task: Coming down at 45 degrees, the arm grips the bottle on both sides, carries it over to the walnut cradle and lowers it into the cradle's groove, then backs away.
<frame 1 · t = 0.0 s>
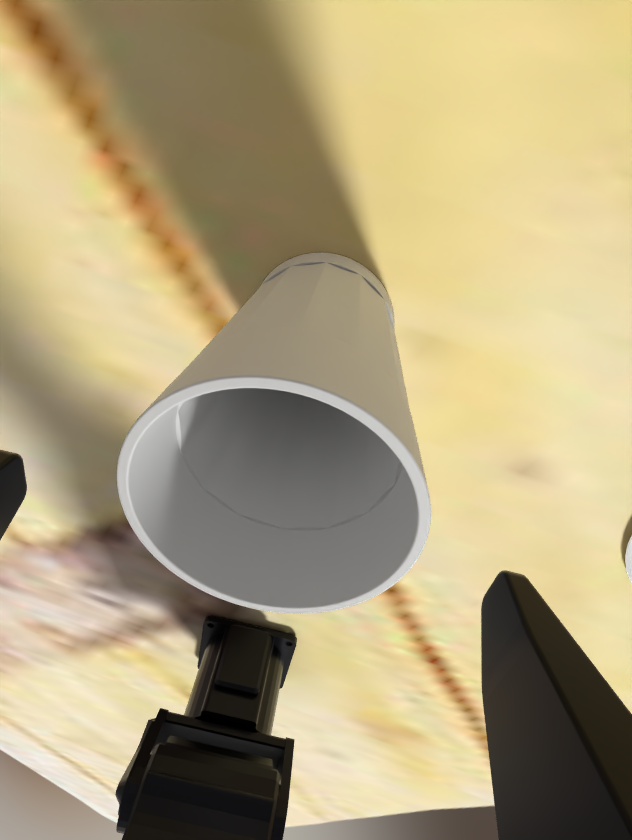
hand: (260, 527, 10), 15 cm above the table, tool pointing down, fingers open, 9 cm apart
cup: (322, 322, 23), on the table
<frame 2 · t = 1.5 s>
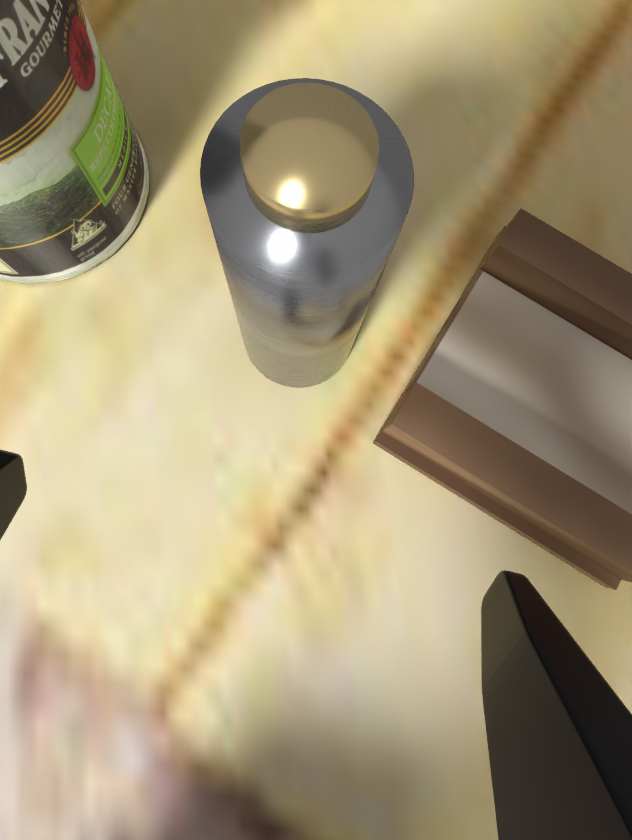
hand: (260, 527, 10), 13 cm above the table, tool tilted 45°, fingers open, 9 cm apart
coffee can: (41, 184, 25), on the table
cradle: (549, 402, 24), on the table
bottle: (298, 334, 24), on the table
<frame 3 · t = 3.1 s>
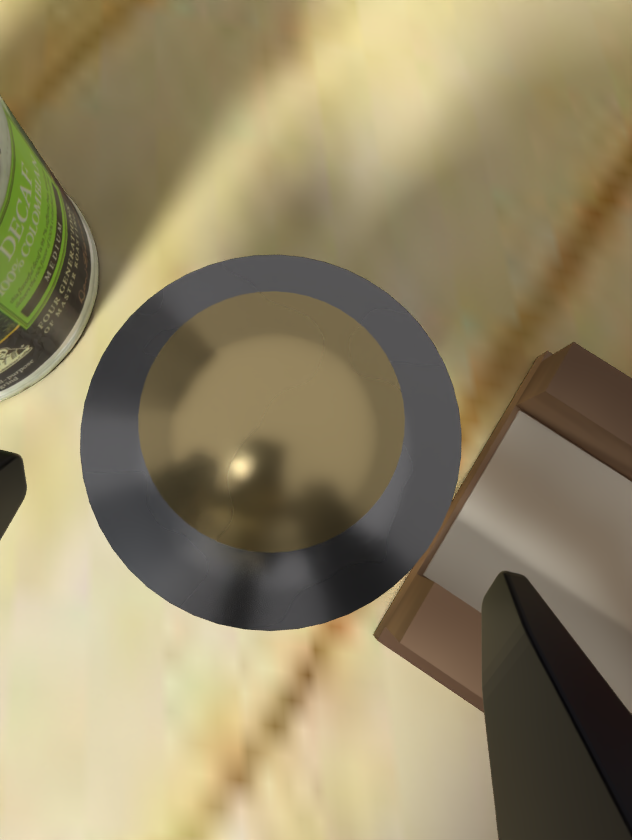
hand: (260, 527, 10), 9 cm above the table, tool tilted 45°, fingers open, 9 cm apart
cradle: (601, 580, 19), on the table
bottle: (280, 484, 19), on the table
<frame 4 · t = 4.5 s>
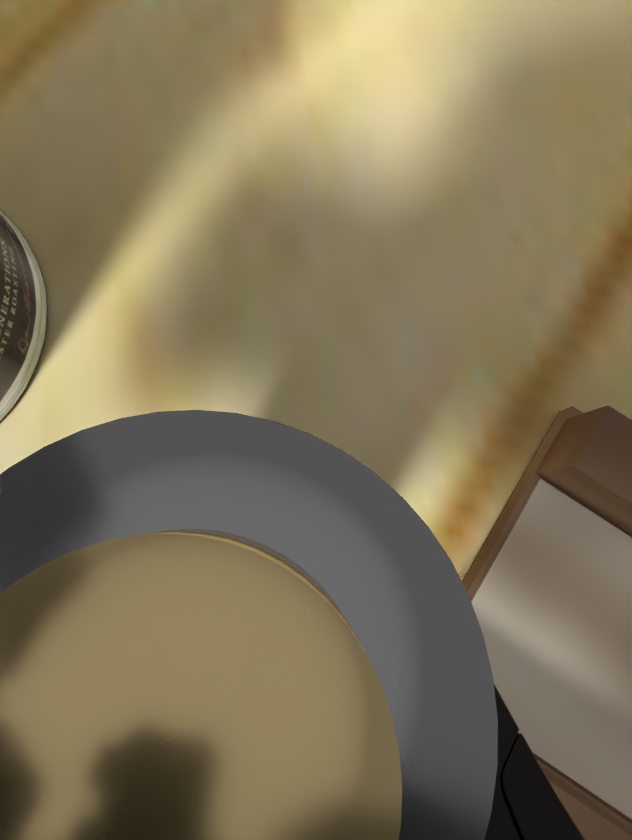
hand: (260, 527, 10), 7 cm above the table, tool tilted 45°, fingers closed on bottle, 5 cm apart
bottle: (259, 566, 16), on the table, touching gripper
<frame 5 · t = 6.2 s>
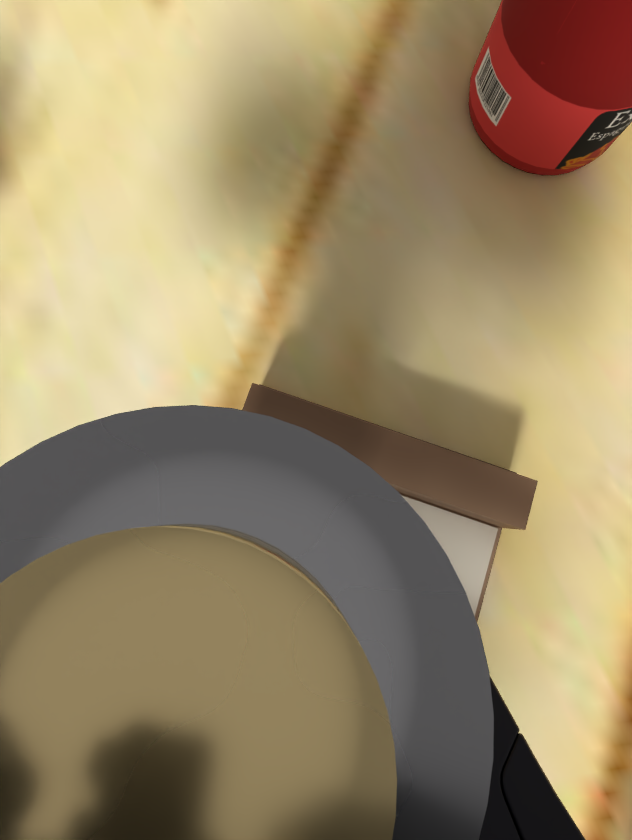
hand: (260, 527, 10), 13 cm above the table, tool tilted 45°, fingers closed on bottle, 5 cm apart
canned food: (535, 115, 27), on the table
cradle: (343, 559, 23), on the table
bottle: (258, 565, 16), point 7 cm above the table, touching gripper
when the fingers open (8 cm above the table, at t = 8.0 s): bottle stays where it is, resting on cradle.
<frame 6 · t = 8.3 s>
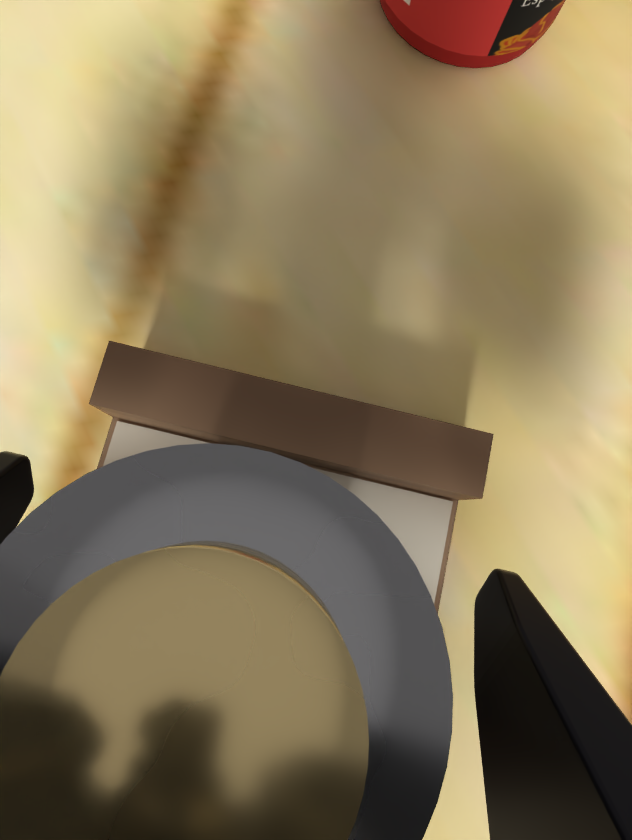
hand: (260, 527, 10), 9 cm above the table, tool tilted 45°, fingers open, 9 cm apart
canned food: (460, 0, 23), on the table
cradle: (262, 560, 18), on the table
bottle: (259, 567, 17), point 1 cm above the table, touching cradle
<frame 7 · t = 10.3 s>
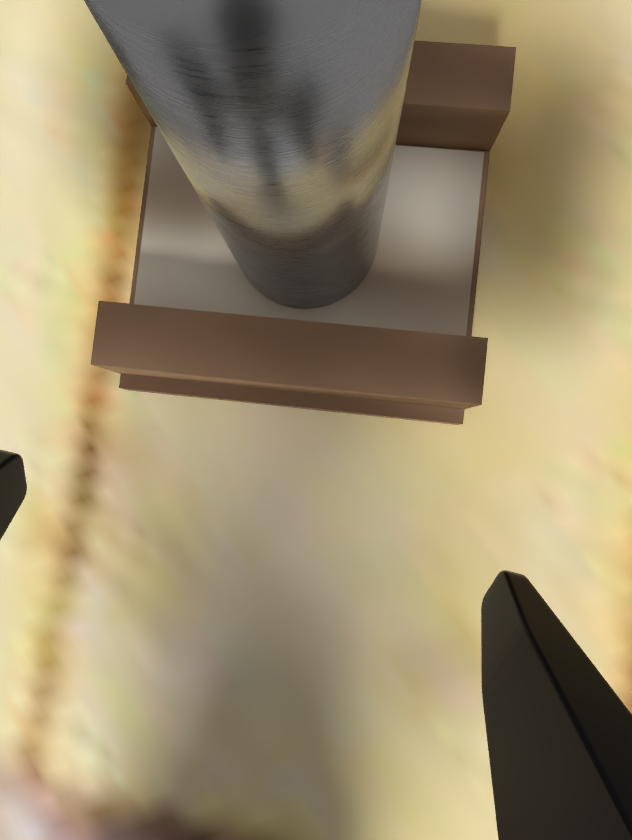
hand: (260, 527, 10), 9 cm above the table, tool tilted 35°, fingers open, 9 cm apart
cradle: (308, 244, 19), on the table
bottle: (306, 237, 18), point 1 cm above the table, touching cradle
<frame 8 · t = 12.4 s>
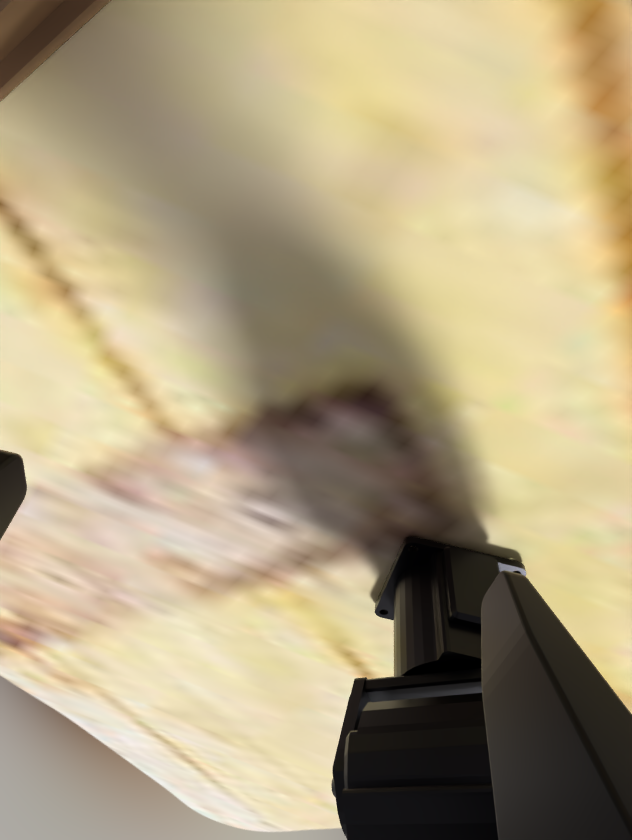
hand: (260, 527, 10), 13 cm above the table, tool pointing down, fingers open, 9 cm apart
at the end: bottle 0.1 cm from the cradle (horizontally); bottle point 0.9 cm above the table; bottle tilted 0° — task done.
